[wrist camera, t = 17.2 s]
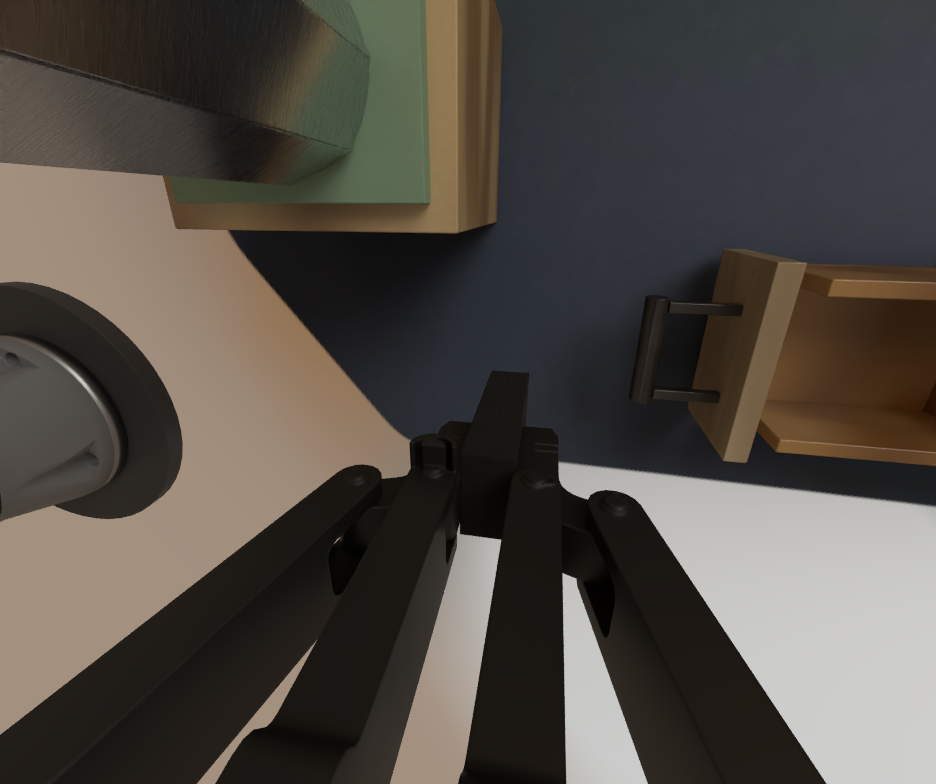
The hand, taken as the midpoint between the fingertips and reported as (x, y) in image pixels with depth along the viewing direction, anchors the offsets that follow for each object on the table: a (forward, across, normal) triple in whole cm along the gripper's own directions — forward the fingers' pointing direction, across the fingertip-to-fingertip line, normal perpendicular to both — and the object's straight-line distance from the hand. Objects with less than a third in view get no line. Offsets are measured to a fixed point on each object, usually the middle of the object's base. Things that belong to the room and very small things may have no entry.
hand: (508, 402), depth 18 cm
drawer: (+13, +16, 0) cm, 20 cm away
